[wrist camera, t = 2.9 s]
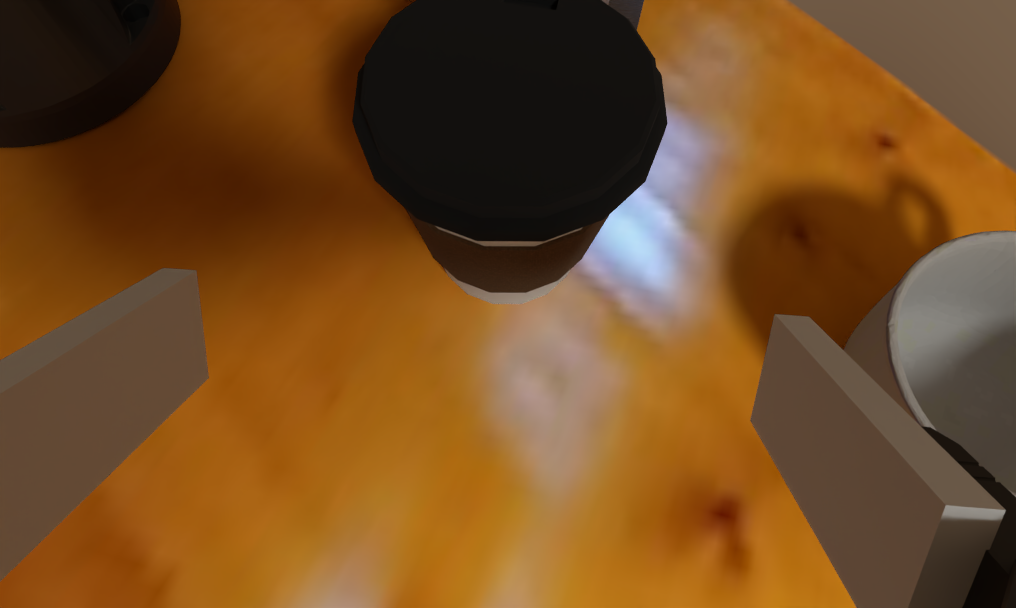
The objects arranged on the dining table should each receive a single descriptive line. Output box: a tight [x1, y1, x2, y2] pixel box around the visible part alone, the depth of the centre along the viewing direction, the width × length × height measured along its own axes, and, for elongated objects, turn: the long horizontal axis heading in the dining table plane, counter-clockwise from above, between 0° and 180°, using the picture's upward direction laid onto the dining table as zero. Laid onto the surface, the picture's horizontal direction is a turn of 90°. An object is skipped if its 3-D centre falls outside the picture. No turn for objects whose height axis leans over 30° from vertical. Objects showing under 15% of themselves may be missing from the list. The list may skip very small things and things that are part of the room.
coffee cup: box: [353, 0, 667, 304], centre depth 27 cm, size 11×11×12 cm
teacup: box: [844, 231, 1016, 497], centre depth 26 cm, size 14×11×8 cm
